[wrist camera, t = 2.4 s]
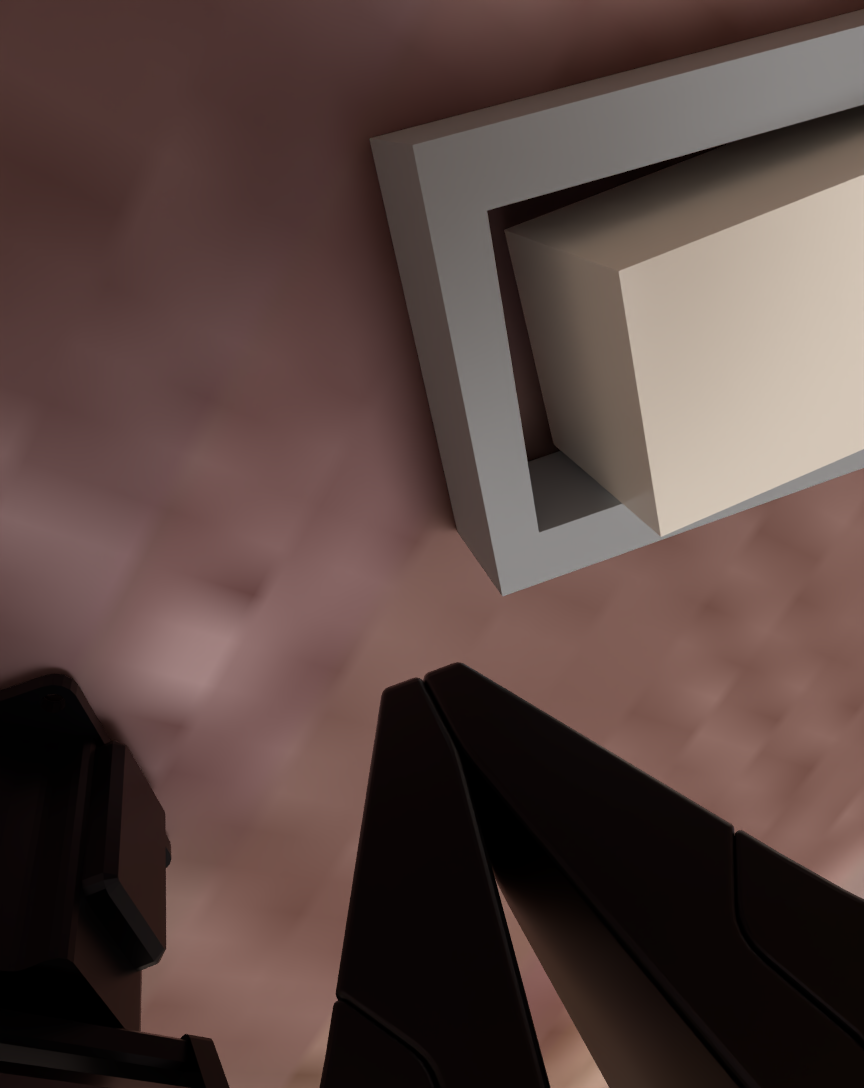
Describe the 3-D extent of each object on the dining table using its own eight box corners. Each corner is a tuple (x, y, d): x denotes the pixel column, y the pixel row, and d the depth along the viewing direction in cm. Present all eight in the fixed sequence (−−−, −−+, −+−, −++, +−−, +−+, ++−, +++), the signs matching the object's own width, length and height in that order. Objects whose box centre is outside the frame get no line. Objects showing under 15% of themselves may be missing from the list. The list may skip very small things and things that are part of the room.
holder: (457, 531, 19) (502, 596, 17) (369, 138, 15) (412, 144, 12) (920, 374, 21) (1024, 410, 18) (967, -19, 17) (1112, -41, 14)
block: (550, 441, 19) (660, 536, 15) (501, 228, 16) (618, 270, 12) (912, 291, 20) (1112, 341, 16) (921, 67, 17) (1164, 56, 13)
